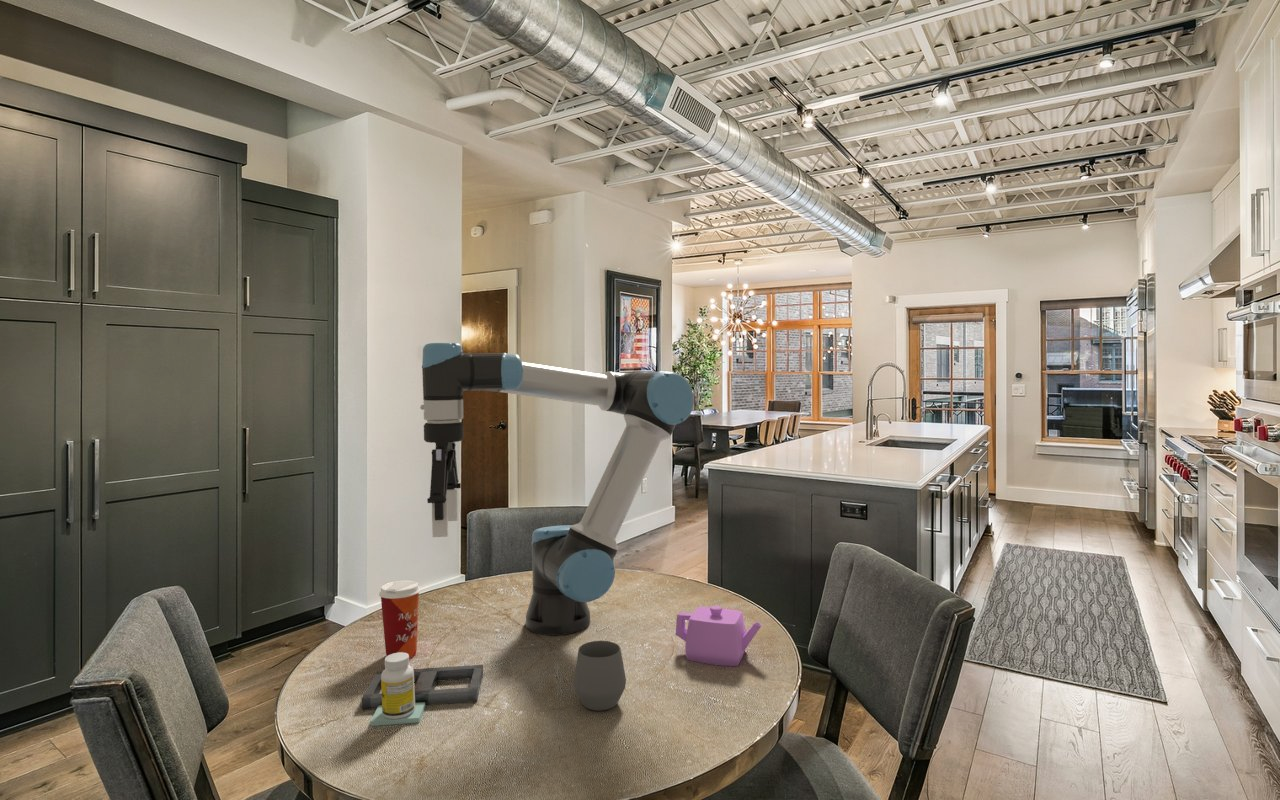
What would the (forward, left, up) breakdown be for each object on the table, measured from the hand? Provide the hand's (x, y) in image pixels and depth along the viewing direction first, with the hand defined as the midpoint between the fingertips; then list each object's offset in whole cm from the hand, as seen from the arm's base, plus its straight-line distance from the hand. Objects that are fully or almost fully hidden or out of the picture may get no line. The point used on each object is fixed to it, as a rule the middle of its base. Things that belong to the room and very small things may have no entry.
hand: (445, 528), depth 134 cm
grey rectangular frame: (+3, +9, -29) cm, 30 cm away
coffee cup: (+11, -9, -29) cm, 32 cm away
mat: (+6, +17, -29) cm, 34 cm away
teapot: (-55, +1, -29) cm, 62 cm away
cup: (-29, +18, -29) cm, 45 cm away
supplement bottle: (+6, +18, -28) cm, 34 cm away
